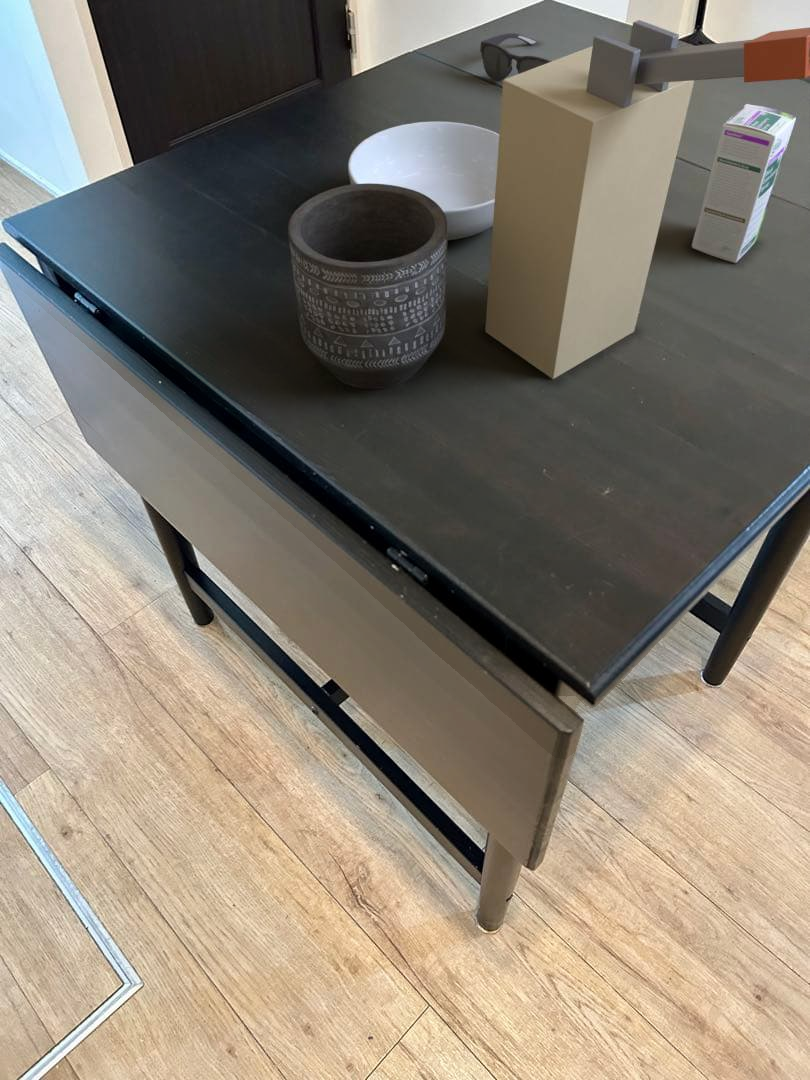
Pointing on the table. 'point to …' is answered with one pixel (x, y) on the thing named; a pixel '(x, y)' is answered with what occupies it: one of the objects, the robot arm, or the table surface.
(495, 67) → the sunglasses
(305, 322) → the planter
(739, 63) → the lever
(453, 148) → the serving bowl
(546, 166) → the lever stand
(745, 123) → the syrup box
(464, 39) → the table surface
